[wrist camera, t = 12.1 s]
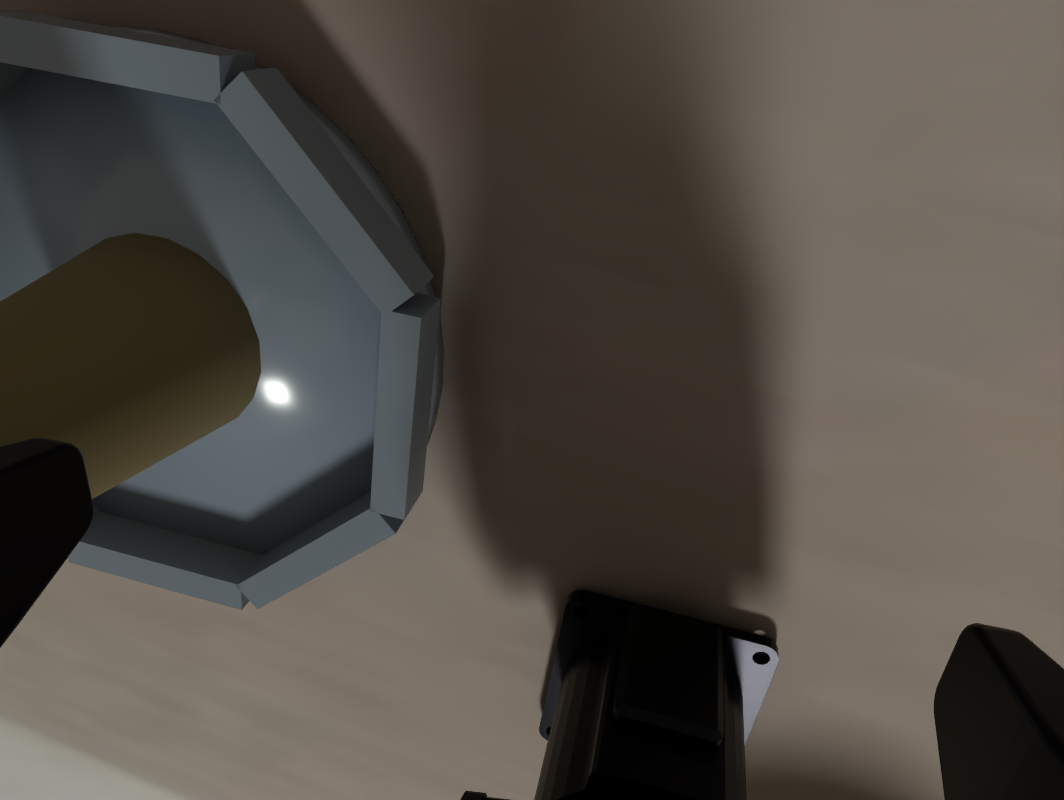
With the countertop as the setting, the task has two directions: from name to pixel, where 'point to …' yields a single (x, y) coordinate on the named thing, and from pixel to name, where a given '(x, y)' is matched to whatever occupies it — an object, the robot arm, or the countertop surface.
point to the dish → (258, 279)
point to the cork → (125, 356)
